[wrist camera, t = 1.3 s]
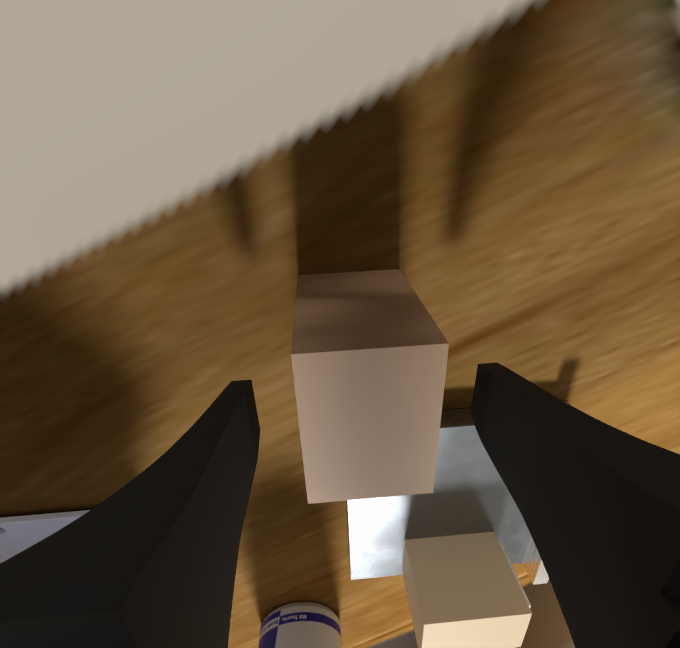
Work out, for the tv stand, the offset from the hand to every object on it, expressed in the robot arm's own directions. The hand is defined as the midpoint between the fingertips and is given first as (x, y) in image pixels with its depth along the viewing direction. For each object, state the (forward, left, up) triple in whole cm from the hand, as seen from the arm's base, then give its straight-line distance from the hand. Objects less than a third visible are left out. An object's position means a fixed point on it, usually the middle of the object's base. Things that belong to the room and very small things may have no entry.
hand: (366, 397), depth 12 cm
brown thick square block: (0, 0, -5) cm, 5 cm away
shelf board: (+5, -10, -4) cm, 12 cm away
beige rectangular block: (+5, -14, -3) cm, 15 cm away
